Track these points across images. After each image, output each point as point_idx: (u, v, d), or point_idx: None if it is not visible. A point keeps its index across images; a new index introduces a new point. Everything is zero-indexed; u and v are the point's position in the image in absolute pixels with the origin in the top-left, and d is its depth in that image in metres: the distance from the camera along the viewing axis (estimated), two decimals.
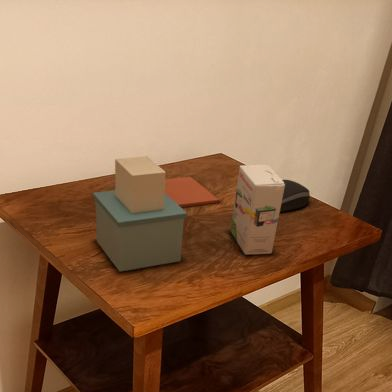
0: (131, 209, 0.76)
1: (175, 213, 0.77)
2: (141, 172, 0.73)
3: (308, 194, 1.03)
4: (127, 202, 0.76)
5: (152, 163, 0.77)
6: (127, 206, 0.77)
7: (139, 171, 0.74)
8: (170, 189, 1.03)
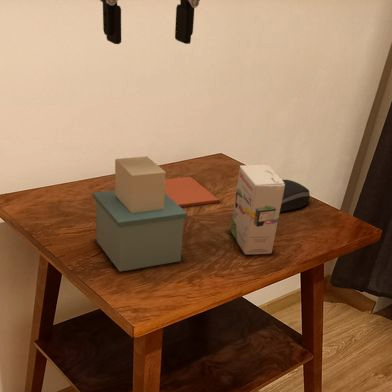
0: (131, 209, 0.76)
1: (175, 213, 0.77)
2: (141, 172, 0.73)
3: (308, 194, 1.03)
4: (127, 202, 0.76)
5: (152, 163, 0.77)
6: (127, 206, 0.77)
7: (139, 171, 0.74)
8: (170, 189, 1.03)
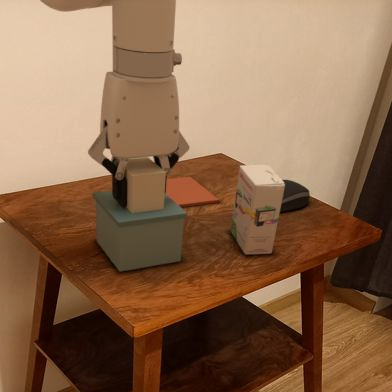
0: (131, 209, 0.76)
1: (175, 213, 0.77)
2: (141, 172, 0.73)
3: (308, 194, 1.03)
4: (127, 202, 0.76)
5: (152, 163, 0.77)
6: (127, 206, 0.77)
7: (139, 171, 0.74)
8: (170, 189, 1.03)
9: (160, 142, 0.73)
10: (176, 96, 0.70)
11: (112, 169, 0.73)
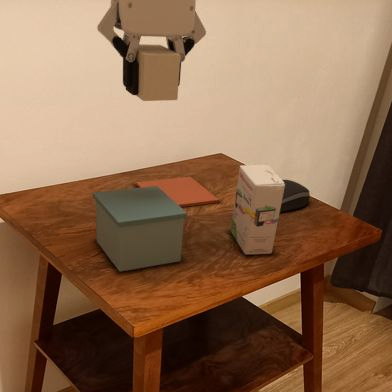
0: (143, 96, 0.71)
1: (175, 213, 0.77)
2: (154, 53, 0.68)
3: (308, 194, 1.03)
4: (138, 89, 0.71)
5: (166, 49, 0.72)
6: (138, 94, 0.72)
7: (152, 52, 0.69)
8: (170, 189, 1.03)
9: (175, 19, 0.68)
10: None
11: (123, 49, 0.68)
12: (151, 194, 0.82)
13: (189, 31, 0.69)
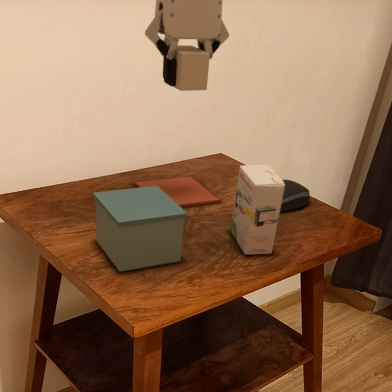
0: (180, 87, 0.88)
1: (175, 213, 0.77)
2: (189, 52, 0.86)
3: (308, 194, 1.03)
4: (176, 82, 0.89)
5: (197, 48, 0.89)
6: (176, 85, 0.89)
7: (187, 52, 0.86)
8: (170, 189, 1.03)
9: (206, 25, 0.85)
10: None
11: (164, 49, 0.86)
12: (151, 194, 0.82)
13: (216, 34, 0.87)
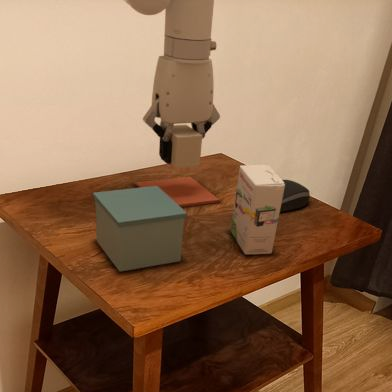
0: (175, 165, 0.96)
1: (175, 213, 0.77)
2: (183, 135, 0.94)
3: (308, 194, 1.03)
4: (171, 160, 0.97)
5: (191, 129, 0.97)
6: (171, 163, 0.97)
7: (182, 135, 0.94)
8: (170, 189, 1.03)
9: (198, 111, 0.93)
10: (212, 74, 0.90)
11: (161, 133, 0.94)
12: (151, 194, 0.82)
13: (208, 118, 0.95)
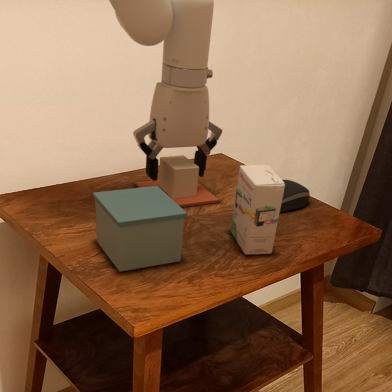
0: (172, 195, 0.99)
1: (175, 213, 0.77)
2: (181, 167, 0.97)
3: (308, 194, 1.03)
4: (169, 190, 1.00)
5: (188, 160, 1.01)
6: (169, 193, 1.00)
7: (179, 167, 0.97)
8: None
9: (194, 136, 0.96)
10: (207, 101, 0.93)
11: (149, 149, 0.95)
12: (151, 194, 0.82)
13: (204, 142, 0.97)
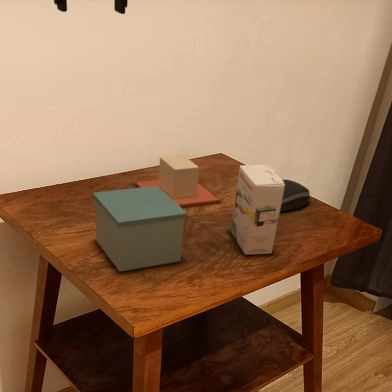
0: (172, 195, 0.99)
1: (175, 213, 0.77)
2: (181, 167, 0.97)
3: (308, 194, 1.03)
4: (169, 190, 1.00)
5: (188, 160, 1.01)
6: (169, 193, 1.00)
7: (179, 167, 0.97)
8: None
9: None
10: None
11: None
12: (151, 194, 0.82)
13: None
